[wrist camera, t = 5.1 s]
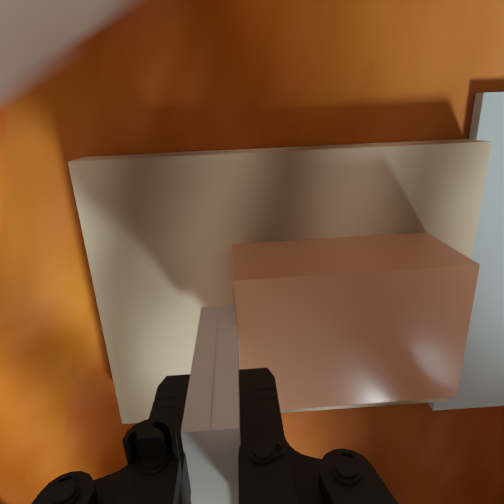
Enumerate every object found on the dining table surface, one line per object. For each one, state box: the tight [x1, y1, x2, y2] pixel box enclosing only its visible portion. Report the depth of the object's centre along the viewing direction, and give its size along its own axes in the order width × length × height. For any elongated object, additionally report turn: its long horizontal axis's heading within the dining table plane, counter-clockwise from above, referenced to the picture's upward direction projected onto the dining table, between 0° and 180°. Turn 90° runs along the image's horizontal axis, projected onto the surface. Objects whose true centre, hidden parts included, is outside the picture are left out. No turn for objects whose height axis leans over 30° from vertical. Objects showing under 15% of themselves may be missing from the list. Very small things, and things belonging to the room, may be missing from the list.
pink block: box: [233, 232, 480, 410], centre depth 16 cm, size 9×6×4 cm, turn 93°
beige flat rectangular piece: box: [68, 139, 492, 424], centre depth 19 cm, size 18×14×2 cm
